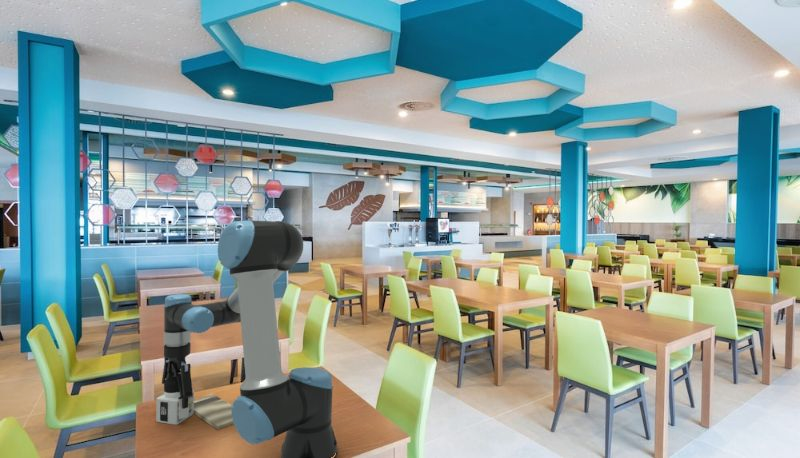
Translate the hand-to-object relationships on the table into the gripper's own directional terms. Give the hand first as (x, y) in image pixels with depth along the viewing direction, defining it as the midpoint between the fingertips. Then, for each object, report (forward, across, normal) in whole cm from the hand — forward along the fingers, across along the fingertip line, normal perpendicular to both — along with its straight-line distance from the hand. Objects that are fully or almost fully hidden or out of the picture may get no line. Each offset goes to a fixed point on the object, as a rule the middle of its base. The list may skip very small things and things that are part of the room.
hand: (176, 412), depth 133 cm
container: (+2, 0, 0) cm, 2 cm away
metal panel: (+2, -5, -10) cm, 11 cm away
